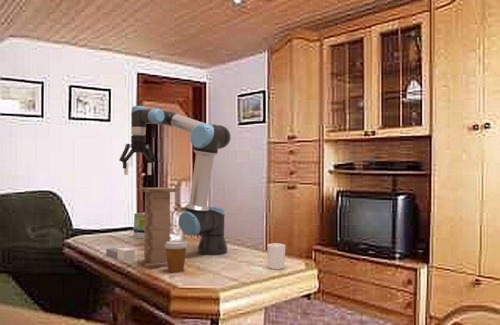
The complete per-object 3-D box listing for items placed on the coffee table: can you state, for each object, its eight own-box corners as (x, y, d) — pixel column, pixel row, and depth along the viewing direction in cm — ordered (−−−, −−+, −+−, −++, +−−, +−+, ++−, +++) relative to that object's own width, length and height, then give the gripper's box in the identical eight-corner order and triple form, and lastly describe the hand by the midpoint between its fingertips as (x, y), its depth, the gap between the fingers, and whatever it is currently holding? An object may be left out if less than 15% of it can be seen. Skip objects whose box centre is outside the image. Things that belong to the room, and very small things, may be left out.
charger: (105, 255, 223) (105, 244, 223) (114, 253, 226) (114, 243, 226) (124, 261, 208) (124, 250, 208) (134, 260, 212) (134, 249, 212)
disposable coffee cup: (188, 272, 189) (189, 243, 189) (165, 274, 186) (165, 244, 186) (185, 267, 198) (185, 239, 198) (163, 268, 195) (163, 240, 195)
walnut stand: (137, 264, 203) (138, 187, 204) (161, 260, 211) (162, 187, 211) (151, 269, 194) (152, 189, 194) (175, 265, 202) (176, 188, 202)
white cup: (279, 270, 194) (280, 247, 194) (263, 268, 199) (264, 245, 199) (288, 267, 201) (288, 244, 201) (272, 265, 205) (272, 242, 205)
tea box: (147, 239, 271) (147, 214, 271) (133, 238, 274) (133, 213, 274) (161, 235, 285) (161, 211, 285) (147, 234, 288) (147, 211, 288)
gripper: (155, 136, 256) (155, 174, 255) (113, 134, 239) (112, 174, 239) (162, 136, 250) (162, 174, 250) (119, 133, 234) (119, 175, 233)
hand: (137, 174), depth 244 cm, fingers open, 13 cm apart
